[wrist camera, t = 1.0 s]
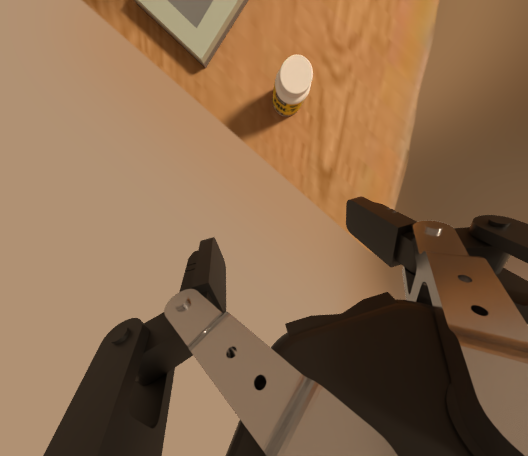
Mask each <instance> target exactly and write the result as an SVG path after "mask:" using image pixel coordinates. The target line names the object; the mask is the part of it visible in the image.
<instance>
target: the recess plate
mask: <svg viewBox="0 0 528 456" xmlns="http://www.w3.org/2000/svg"><path fill="white" fill-rule="evenodd" d="M134 1H135V2H136V3H137V4H138V5H139V6H140V7H141V8H142V9H143V10H144V11H145V12H146V13H148V14H149V15H150V16H151V17H152V18H153V19H154V20H155V21H156V22H157V23H158V24H159V25H160V26H161V27H162V28H164V29H165V30H166V31H167V32H168V33H169V34H170V35H171V36H172V37H173V38H174V39H175V40H176V41H177V42H179V43H180V44H181V45H182V46H183V47H184V48H185V49H186V50H187V51H188V52H189V53H190V54H191V55H192V56H194V57H195V58H196V59H197V60H198V61H199V62H200V63H201V64H202V65H203V66H204V67H205V68H206V67H207V65H208V63H209V62H210V60H211V59H212V57H213V55H214V54H215V52H216V51H217V49H218V48H219V46H220V44H221V43H222V41H223V40H224V38H225V36H226V35H227V33H228V32H229V30H230V28H231V27H232V25H233V24H234V22H235V21H236V19H237V17H238V16H239V14H240V13H241V11H242V9H243V8H244V6H245V5H246V3H247V2H248V0H134Z"/></svg>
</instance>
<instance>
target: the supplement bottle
mask: <svg viewBox="0 0 528 456" xmlns="http://www.w3.org/2000/svg"><path fill="white" fill-rule="evenodd" d="M312 77H313V70H312V66H311V64H310V62H309V61H308V59H307V58H305V57H304V56H302V55H292V56H290V57H288V58H287V59H286V60H285V61H284V63H283V64H282V66H281V69H280V70H279V71H278V73H277V76H276V79H275V85H274V91H273V97H272V102H273V107H274V109H275V110H276V112H277V113H278V114H280V115H282V116H291V115H294V114H295V113H296V112H297V111H298V110H299V108H300V107H301V105H302V103H303V102H304V100H305V99H306V97H307V95H308V93H309V91H310V87H311V81H312Z"/></svg>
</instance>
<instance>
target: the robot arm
mask: <svg viewBox="0 0 528 456" xmlns="http://www.w3.org/2000/svg"><path fill="white" fill-rule="evenodd" d="M346 225H347V229H348V230H349V232H350V233H351V234H352V235H353V236H355V237H356V238H357V239H358V240H359V241H360V242H362V243H363V244H364V245H365V246H366V247H367V248H369V249H370V250H371V251H372V252H373V253H374V254H376V255H377V256H378V257H379V258H380V259H382V260H383V261H384V262H385V263H386V264H388V265H389V266H390V267H394V266H397V265H400V264H402V265H403V271H402V272H403V280H404V286H405V295H406V300H395V299H394V298H393V297H392V296H391V295H390V294H389V293H388V292H386V293H383V294H380V295H377V296H373V297H370V298H367V299H363V300H362V301H360V302H359V303H357V304H356V305H354V306H353V307H351V308H350V309H348V310H347V311H346V312H344V313H342V314H334V315H318V316H309V317H306V318H303V319H299V320H296V321H293V322H290V323H287V324H285V325H286V328H287V333H286V334H284V335H283V336H282V337H281V338H279V339H278V340H277V341H276V342H275V343H274V344H273V346H272V347H271V348H270V347H269V346H268V345H267V344H265V343H264V342H263V341H262V340H261V339H259V338H258V337H257V336H256V335H255V334H254V333H252V332H251V331H250V330H249V329H248V328H246V327H245V326H244V325H243V324H242V323H241V322H239V321H238V320H237V319H236V318H235V317H233V316H232V315H231V314H230V313H228V312H226V267H225V262H224V258H223V256H222V254H221V251H220V249H219V246H218V244H217V242H216V240H215V238H214V237H213V238H209V239H206V240H202V241H201V242H200V246H199V251H195V252H193V253H192V255H191V256H190V257H189V259H188V263H187V267H186V270H185V273H184V277H183V281H182V285H181V289H180V292H179V293H178V294H176V295H175V296H173V297H172V298H171V299H170V301H169V302H168V303H167V305H166V307H165V310H164V312H163V313H162V314H160V315H159V316H157V317H155V318H153V319H151V320H149V321H148V322H146V323H143V322H142V321H141V320H140V319H138V318H131V319H128V320H126V321H124V322H122V323H120V324H119V325H117V326H116V327H115V328H113V329H112V330H111V331H110V332H109V333H108V334H107V336H106V337H105V338H104V339H103V341H102V343H101V345H100V346H99V348H98V350H97V352H96V354H95V356H94V358H93V360H92V362H91V364H90V366H89V368H88V370H87V372H86V374H85V376H84V378H83V380H82V382H81V383H80V385H79V387H78V390H77V391H76V393H75V395H74V397H73V399H72V401H71V403H70V405H69V407H68V409H67V411H66V413H65V415H64V417H63V419H62V421H61V422H60V425H59V426H58V428H57V430H56V432H55V434H54V436H53V438H52V440H51V442H50V444H49V446H48V448H47V450H46V452H45V454H44V456H161V455H162V448H163V442H164V435H165V429H166V422H167V416H168V409H169V403H170V396H171V390H172V383H173V376H174V370H175V367H176V366H178V365H179V364H180V363H182V362H184V361H185V360H187V359H188V358H190V357H191V356H193V355H194V357H195V358H196V359H197V360H198V362H199V363H200V365H201V366H202V368H203V369H204V370H205V372H206V373H207V375H208V376H209V377H210V379H211V380H212V381H213V382H214V384H215V385H216V387H217V388H218V389H219V391H220V392H221V394H222V395H223V396H224V398H225V399H226V400H227V402H228V403H229V405H230V406H231V407H232V409H233V410H234V411H235V413H236V414H237V415H238V417H239V418H240V421H239V423H238V426H237V429H236V431H235V434H234V436H233V439H232V441H231V444H230V446H229V449H228V451H227V454H226V456H528V325H527V324H528V281H527V280H524V279H523V278H521V277H519V276H517V275H516V274H514V273H512V272H510V271H508V270H506V269H505V268H503V267H504V266H505V264H506V262H507V261H508V259H509V258H510V256H511V255H512V256H514V257H516V258H518V259H520V260H522V261H524V262H527V263H528V224H526V223H523V222H520V221H517V220H515V219H512V218H508V217H503V216H495V215H483V216H478V217H475V218H474V219H473V222H472V224H471V226H470V227H468V228H453V227H452V226H450V225H448V224H446V223H442V222H439V221H431V220H427V221H419V222H416V221H414V220H412V219H411V218H409V217H407V216H404V215H403V214H401V213H399V212H396V211H395V210H393V209H390V208H389V207H387V206H385V205H383V204H379V203H375V202H372V201H370V200H368V199H366V198H364V197H357V198H354V199H350V200H348V201H347V206H346Z"/></svg>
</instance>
